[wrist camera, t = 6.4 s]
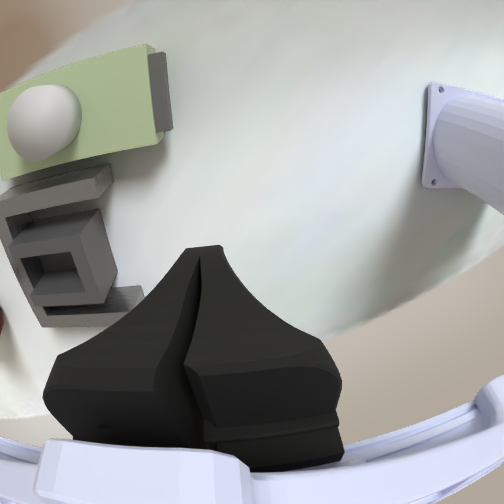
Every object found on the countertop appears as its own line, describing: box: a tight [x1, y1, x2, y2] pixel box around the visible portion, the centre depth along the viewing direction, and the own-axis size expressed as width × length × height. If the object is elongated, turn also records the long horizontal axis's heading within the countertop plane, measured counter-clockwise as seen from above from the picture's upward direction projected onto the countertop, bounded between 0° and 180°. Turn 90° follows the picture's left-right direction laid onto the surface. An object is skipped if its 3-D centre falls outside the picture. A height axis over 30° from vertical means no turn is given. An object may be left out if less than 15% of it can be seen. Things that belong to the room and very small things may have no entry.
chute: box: [8, 209, 118, 307], centre depth 19 cm, size 6×5×4 cm
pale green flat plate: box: [0, 44, 173, 181], centre depth 14 cm, size 12×6×4 cm, turn 94°
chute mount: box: [0, 164, 145, 327], centre depth 19 cm, size 9×11×3 cm
